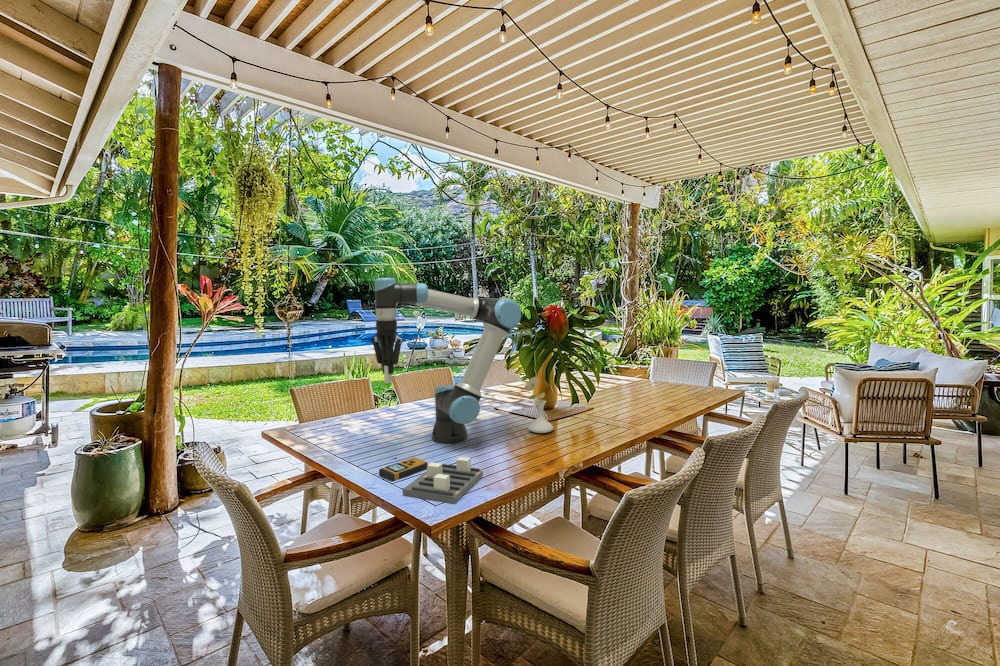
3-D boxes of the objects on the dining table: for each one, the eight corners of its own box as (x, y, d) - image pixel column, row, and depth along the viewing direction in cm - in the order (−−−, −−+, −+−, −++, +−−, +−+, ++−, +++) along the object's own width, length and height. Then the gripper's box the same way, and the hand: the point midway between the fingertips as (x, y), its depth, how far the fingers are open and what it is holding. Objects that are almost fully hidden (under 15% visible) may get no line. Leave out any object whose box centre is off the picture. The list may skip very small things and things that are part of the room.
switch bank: (436, 470, 170) (435, 462, 170) (482, 476, 164) (482, 468, 164) (402, 495, 150) (402, 486, 150) (454, 503, 144) (454, 494, 143)
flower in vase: (547, 426, 222) (547, 373, 220) (557, 433, 212) (557, 377, 209) (520, 429, 218) (520, 375, 216) (530, 436, 207) (529, 379, 205)
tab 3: (460, 469, 165) (460, 456, 165) (470, 470, 164) (470, 458, 163) (456, 472, 162) (456, 459, 162) (467, 474, 161) (467, 461, 161)
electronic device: (429, 470, 172) (429, 461, 172) (393, 483, 160) (392, 473, 160) (414, 464, 178) (414, 455, 177) (378, 476, 166) (378, 467, 166)
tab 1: (431, 475, 160) (431, 462, 160) (442, 477, 159) (442, 463, 158) (427, 478, 157) (427, 465, 157) (438, 480, 156) (437, 467, 155)
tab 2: (438, 487, 150) (438, 473, 150) (450, 489, 149) (449, 475, 148) (433, 491, 147) (433, 477, 147) (445, 493, 146) (445, 478, 146)
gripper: (365, 320, 177) (367, 383, 179) (395, 320, 172) (397, 385, 174) (377, 318, 184) (379, 379, 186) (406, 319, 179) (408, 381, 181)
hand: (388, 382), depth 180 cm, fingers closed
